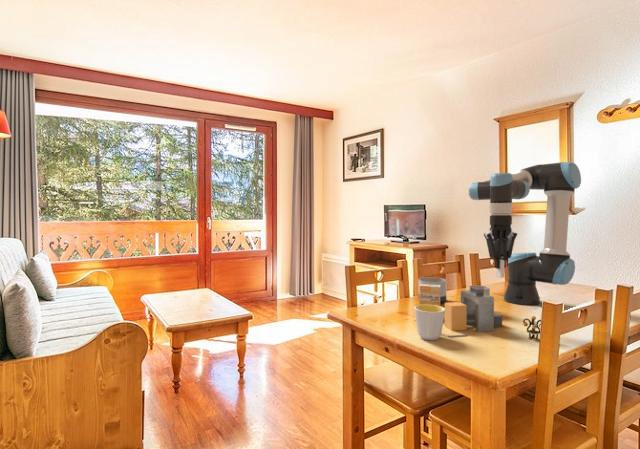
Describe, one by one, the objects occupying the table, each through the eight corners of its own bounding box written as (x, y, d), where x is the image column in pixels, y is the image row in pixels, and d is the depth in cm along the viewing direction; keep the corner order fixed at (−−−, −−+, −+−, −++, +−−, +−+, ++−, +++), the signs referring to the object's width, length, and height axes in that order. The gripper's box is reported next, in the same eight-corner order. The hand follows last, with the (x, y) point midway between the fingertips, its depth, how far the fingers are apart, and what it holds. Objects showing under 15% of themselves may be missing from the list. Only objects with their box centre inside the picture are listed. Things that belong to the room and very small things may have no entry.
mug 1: (442, 344, 125) (442, 313, 124) (410, 340, 129) (410, 309, 129) (448, 332, 137) (449, 303, 136) (420, 328, 141) (420, 300, 141)
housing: (474, 321, 150) (475, 284, 149) (493, 331, 138) (494, 291, 137) (460, 322, 149) (460, 285, 148) (478, 332, 137) (478, 292, 136)
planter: (452, 301, 181) (452, 280, 181) (434, 306, 174) (434, 283, 174) (430, 296, 192) (430, 276, 192) (412, 300, 185) (412, 279, 184)
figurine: (520, 336, 131) (523, 314, 130) (530, 335, 133) (533, 312, 132) (533, 342, 127) (535, 319, 126) (543, 340, 129) (545, 317, 128)
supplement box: (418, 317, 156) (418, 285, 156) (420, 314, 161) (420, 283, 160) (439, 319, 153) (440, 286, 153) (440, 315, 158) (440, 284, 157)
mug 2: (485, 316, 156) (486, 290, 156) (464, 313, 162) (465, 287, 161) (494, 310, 165) (495, 285, 165) (474, 307, 171) (474, 283, 170)
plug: (494, 323, 148) (495, 300, 147) (503, 326, 143) (503, 303, 142) (444, 326, 144) (444, 302, 143) (451, 330, 139) (451, 306, 139)
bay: (442, 321, 151) (442, 320, 151) (467, 335, 133) (467, 335, 133) (426, 322, 149) (425, 321, 149) (449, 337, 132) (449, 336, 132)
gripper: (508, 214, 148) (508, 274, 149) (479, 214, 145) (478, 276, 146) (523, 214, 141) (522, 277, 142) (492, 214, 138) (491, 279, 139)
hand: (500, 276), depth 144 cm, fingers closed
